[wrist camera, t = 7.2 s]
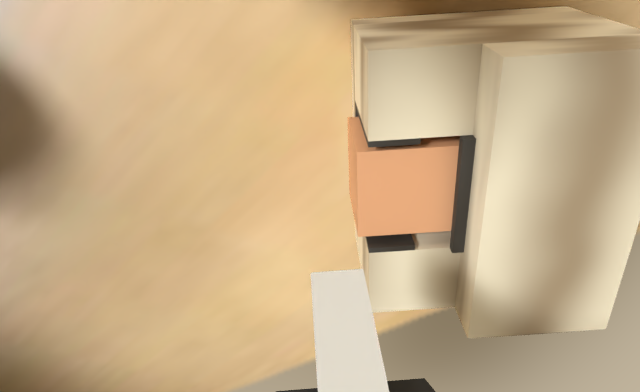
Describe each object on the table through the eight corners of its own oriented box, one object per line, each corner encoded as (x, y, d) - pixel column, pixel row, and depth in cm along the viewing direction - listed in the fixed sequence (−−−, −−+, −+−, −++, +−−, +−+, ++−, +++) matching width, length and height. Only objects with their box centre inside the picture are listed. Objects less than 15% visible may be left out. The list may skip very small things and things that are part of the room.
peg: (349, 192, 25) (357, 236, 21) (347, 117, 23) (356, 152, 19) (546, 179, 25) (587, 222, 21) (561, 103, 23) (608, 136, 20)
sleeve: (355, 236, 29) (374, 344, 21) (350, 19, 23) (375, 65, 15) (527, 225, 29) (605, 329, 21) (566, 6, 23) (693, 45, 15)
